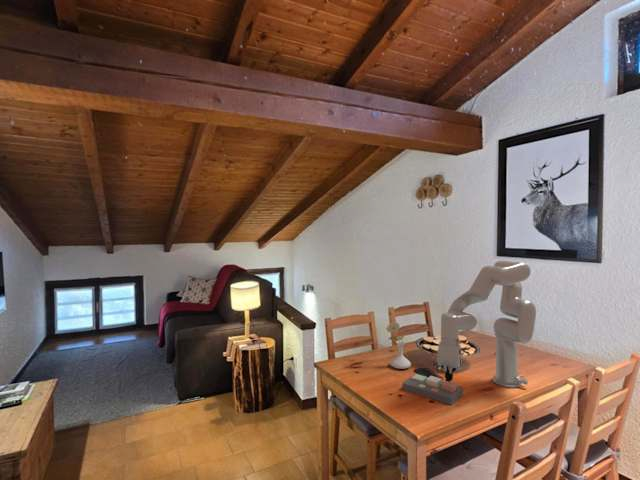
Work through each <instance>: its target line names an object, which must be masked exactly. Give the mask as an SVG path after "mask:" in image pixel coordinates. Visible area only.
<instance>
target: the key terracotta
mask: <svg viewBox="0 0 640 480" xmlns="http://www.w3.org/2000/svg"><path fill="white" fill-rule="evenodd" d="M458 386H459V383H458V382H455V381H452V380H451V381H450V382H448V381H446V380H445V381H443V383H442V389H443V390H446V391H449V392H452V393H455V392H456V391H457V390H458Z"/></svg>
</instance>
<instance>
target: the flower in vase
mask: <svg viewBox="0 0 640 480" xmlns="http://www.w3.org/2000/svg"><path fill="white" fill-rule="evenodd" d="M400 328H401V325H400V323H399V322H397V321H394V322H391V323H389V324H388V325H387V327H386V330H387V332H388V333H390V334H391V333H394V334H395V336H390V337H389V338H388V340H391V341H394V340H395V339H396V341H395V343H396V346H397V355H396V356H395V357H393V358H391V360H389V361H390V362H389V364H390V366H391V367H392V368H395V369H399V370H400V369H401V370H406V369H408V368H410V367H411V366H412V363H411V361H410V360H409V359H407V358H406V357H405V356H404V354H403V347H404V345H405V343H406V341H403V339H404V337H405V334H403V335H401V336H399V337H397V334H396V332H398V330H399V329H400Z"/></svg>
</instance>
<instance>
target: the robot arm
mask: <svg viewBox="0 0 640 480" xmlns="http://www.w3.org/2000/svg"><path fill="white" fill-rule="evenodd" d="M530 275H531V267H530V266H529V264H527V263H526V262H521V261H513V260H497V261H496V262H495V263H494V265H486V266H482V268H481V269H480V270H479V273H478V275H477V276H476V278H475V279H474V282H472V284H471V287H470V288H469V289H468V290H467V291H466V292H464V293H462V294H461V295H459V296H458V297H457V298H455V299H454V300H453V302H452V303H451V305H450V307H449V308H448V310H447V312H446V313H442V314H441V316H440V318H441V319H440V341H439V343H438V348H437V353H436V354H437V356H436V361H437V364H436V365H437V366H439V367H441V368H442V369H443V372H444V379H445V381H448V382H450V381H451V382H452V381H453V378H454V374H453V373H454V372H460V371H462V366H463V355H462V347H461V344H462V340H461V339H460V338H459V333H460V332H459V331H471V330H474V329H475V327H477V324H478V321H477V318H476V317H475V316H474V315H473V314H470V313H467V312H466V311H465V309H467V307H469V306H471V305H474V304H477V303H482V302H485V301H487V300H488V297H489V296H490V294H491V292H492V291H493V289H494V288H495V286H497V285H498V286H501V287H502V289H501V290H502V291H501V298H500V304H499V309H500V312H501V314H503V315H505V316H507V318H506V317H500V318H497V319H495V321H494V323H493V331H494V332H493V333H494V336H495V375H493V376H492V379H491V380H492V382H493V383H495V384H496V385H499V386H501V387H505V388H515V389H516V388H519V387H521V385H522V384H523V385H526V386H527V385H528V384H529V380H527V379H526V378H523V377H521V376H520V373H518V370H519V369H518V368H519V367H518V366H519V363H518V360H519V358H518V357H519V349H518V344H517V343H519V344H525V345H526V344H529V343H530V342H531V340H532V339H533V336H534V331H535V325H536V318H537V317H536V316H537V309H536V305H535V304H534V303H533V302H532V301H531V300H528V299H524V298H522V295H523V293H522V292H523V286H522V283H521V282H524V281H525V280H528V279H529V278H530ZM508 317H511V318H508ZM512 318H514V319H517V320H514V319H512Z"/></svg>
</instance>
